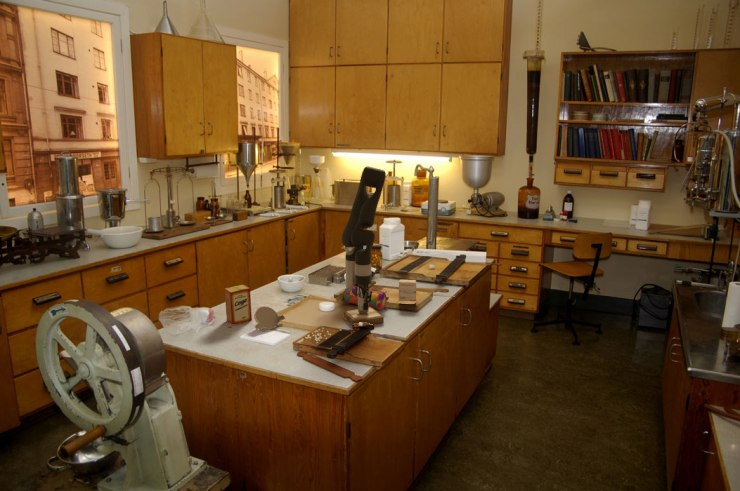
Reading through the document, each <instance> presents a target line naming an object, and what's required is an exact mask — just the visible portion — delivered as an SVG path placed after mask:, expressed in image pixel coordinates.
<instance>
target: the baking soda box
mask: <svg viewBox="0 0 740 491" xmlns="http://www.w3.org/2000/svg"><path fill="white" fill-rule="evenodd" d="M224 298H225V300H224V302H225V313H226V314H225V316H226V322H228V323H229V322H230V323H231V325H232V324H235V325H238V324H243V323H246V322H251V321H252V320H253V318H252V315H253V314H252V302H251V301H252V299H251V288H250V287H248V286H247V285H246V284H239V285H235V286H231V287H226V288H224ZM230 323H229V324H230Z"/></svg>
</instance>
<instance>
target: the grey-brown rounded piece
mask: <svg viewBox="0 0 740 491" xmlns="http://www.w3.org/2000/svg"><path fill="white" fill-rule="evenodd" d="M278 315H279V314H278V312H276V310H274V309H273V308H271V307H270V306H265V305H264V306H260V307H258V308H257V309H256V311H255V313H254V317H253V318H254V320H255V322H256V324H255V325H254V328H255V330H256V331H259V330H262V329H263V330H268V329H270V330H272V329H274V328H277V326H278V325H279V323H280V321H281V322H283V321H282V320H286V318H285V316H284V315H283V314H282V315H279V316H278ZM258 329H259V330H258Z"/></svg>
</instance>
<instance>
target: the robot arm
mask: <svg viewBox="0 0 740 491" xmlns="http://www.w3.org/2000/svg"><path fill="white" fill-rule="evenodd" d="M386 176H387V174H386V171H385V170H384V169H381V168H377V167H373V166H370V165H369V166H365V167H364V168H363V170H362V172H361V175H360V180H359V185H358V189H357V192H356V195H355V198H354V201H353V203H352V207H351V209H350V210H351V211H350V214H349V216H348V217H349V218H348V220H347V223H346V224H345V227H344V229H343V231H342V235H341V243H342V245H343V246H344V247H345V248H353V249H350V251H348V252H346V253H345V256H344V258H345V259H344V260H345V289H346V288H348V287H349V286H355V291H356V296H357V297H358V296H360V295H361V297H362V298H363V310H364V311H366V310H368V303H369V302H371V296H372V291H373V290H372V291H369V290H370V287H369V285H371V284H372V250H373V246H374V242H375V241H376V240H375V239H376V235H375V232H374V231H373V230H371V229H370V228H372V227H373V226H374V223H375V217H376V212H377V208H378V206H379V201H380V199H381V195H382V192H383V188H384V186H385V182H386ZM367 187H368V188H369V187H370V188H371V189H375V190H374V192H373V194H372V195H371V196H369V193H368V192H367ZM363 295H366V296H363Z"/></svg>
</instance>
